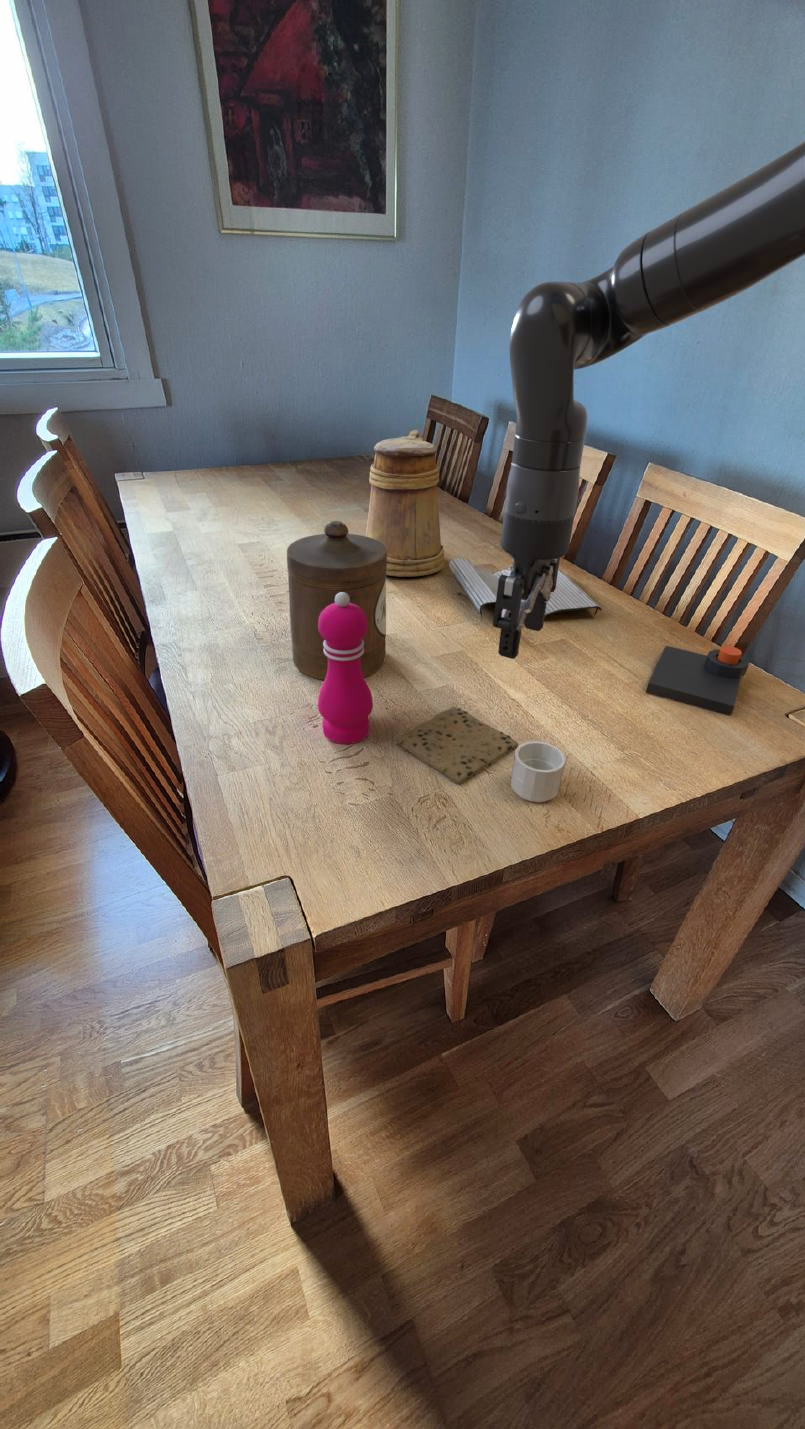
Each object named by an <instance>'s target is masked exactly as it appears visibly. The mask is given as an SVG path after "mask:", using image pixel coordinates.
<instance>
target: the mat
mask: <svg viewBox="0 0 805 1429" xmlns="http://www.w3.org/2000/svg"><path fill="white" fill-rule="evenodd" d="M448 566H449V569H450V572H451V573H452V576H453V577H454V579H455V580H456V582H457V583H458V585H459V586H460V587H461V589H462V590H463V591H464V593H465V594H466V596H467V597H468V599H469V600H470V602H471V603H472V605H473V606H474V607H475V609H476V611H477V612H478V613H479V615H480V618H481V620H483V613H482V609H483V607H484V606H485V605H491V604H492V605H493V604H496V597H497V589H498V580H499V578H500V576H501V575H507V576H508V573H509V570H510V568H511V567H509V568H506V569H505V568H504V569H503V570H499V571H496V572H490V571H487V570H485V569H483V568H480V567H478V566H476V565H474V564H473V563H472V562H471V560H470V559H468V558H467V557H465V556H464V557H461V556H460V557H454V558H452V559H451V560H450V561H449V563H448ZM550 593H551V597H550V599H549V601H548V602H546V601H545V603H547V604H546V611H545V617H548V616H551V615H553V614H555V613H559V612H575V611H580V610H587V609H595V611H594V614H593V616H596V614H598V610H599V611H602V610H603V609H602V606H601V605H599V604H598V603H597V601H595V600H594V599H592V597H590V596H589V594H587V593H586V592H585V591H584V590H583V589H582V588H581V587H579V586H578V584H576V582H574V581H573V580H572V579H571V578H570V577H569V576H567V575H566V574H565V573H564V572H563V571H562V570H561V569H560V568H558V575H557V582H556V589H555V591H554V592H550ZM521 602H526V600H522V599H521ZM509 614H512V613H511V611H510V612H509ZM525 618H526V616H525ZM481 623H482V624H483V623H484V622H483V621H481Z"/></svg>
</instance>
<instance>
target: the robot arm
mask: <svg viewBox="0 0 805 1429" xmlns="http://www.w3.org/2000/svg"><path fill="white" fill-rule="evenodd" d="M802 257H805V141H803V142H802V143H800V144H798V145H797V146H795V147H793V148H792V149H790V150H789V151H787V152H785V153H783V154H782V155H781V156H779V157H777V158H775V159H774V160H772V161H770V162H768V163H766V164H765V165H763V166H762V167H760V168H759V169H757V170H755V171H753V172H751V173H749V174H747V175H746V176H745V177H742V178H741V179H740V180H738V181H736V182H734V183H733V184H730V185H729V186H727V187H725V188H724V189H722V190H720V191H719V192H717V193H715V194H712V195H711V196H709V197H708V198H706V199H704V200H703V201H701V202H699V203H697V204H695V205H694V206H691V207H689V208H688V209H686V210H685V211H683V212H681V213H680V214H678V215H676V216H674V217H673V218H670V219H669V220H667V221H665V222H664V223H662V224H660V225H659V226H657V227H654V228H653V229H651V230H650V231H648V232H646V233H644V234H642V235H641V236H640V237H638V238H636V239H634V241H632V242H630V243H629V245H627V246H626V247H625V248H624V249H623V250H622V251H621V252H620V253H619V254H618V257H617V258H616V260H615V261H614V264H613V266H611V267H610V268H608V269H606V270H605V271H603V272H602V273H600V274H598V275H597V276H594V277H592V278H590V279H587V280H585V281H582V282H574V281H573V282H571V281H547V282H546V281H545V282H543V283H542V282H541V283H540V284H537V285H536V286H534V287H533V288H531V289H530V290H529V291H528V292H527V293H526V294H525V296H524V297H523V298H522V299H521V301H520V303H519V305H518V307H517V310H516V312H515V314H514V318H513V321H512V324H511V329H510V335H509V364H510V374H511V375H510V376H511V383H512V384H511V385H512V394H513V403H514V407H515V414H516V422H515V431H514V439H513V448H512V455H511V456H512V457H511V465H510V470H509V474H508V477H507V482H506V488H505V489H506V490H505V499H504V508H503V517H502V527H501V535H500V536H501V538H500V547H501V549H502V550H503V552H504V553H506V554H508V555H509V556H511V557H512V558H513V562H512V566H511V567H509V568H510V570H509V573H508V576H507V575H501V576H500V578H499V580H498V589H497V597H496V603H495V605H494V613H493V620H492V627H493V628H496V629H500V633H499V635H500V636H499V644H498V655H499V656H501V657H504V658H507V659H511V660H514V659H516V658H517V657H518V655H519V652H520V651H519V650H520V644H521V643H520V642H521V637H522V635H521V634H522V629H523V626H524V627H525V629H527V630H530V631H534V632H535V631H536V632H540V631H542V629H543V627H544V623H545V617H546V616H545V611H546V604H547V603H545V601H546V602H548V601H549V599H550V597H551V593H550V592H554V591H555V589H556V582H557V575H558V569H560V560H561V558H562V557H564V556H565V555H567V554H568V552H569V550H570V544H571V538H572V532H573V528H574V527H573V526H574V521H575V516H576V508H577V502H578V497H579V490H580V473H581V465H582V459H583V452H584V446H585V441H586V436H587V435H586V433H587V426H588V412H587V408H586V407H585V405H583V404H582V403H581V402H579V401H578V400H575V396H574V391H575V390H574V386H575V385H574V375H575V374H574V373H575V370H580V369H585V368H587V367H590V366H593V365H596V364H598V363H600V362H603V361H604V360H607V359H609V358H610V357H612V356H614V355H617V354H618V353H619V352H621V351H623V350H625V349H627V348H628V347H630V346H632V345H633V344H635V343H636V342H638V341H640V340H641V339H643V338H645V337H646V336H647V335H648V334H651V333H654V332H657V331H659V330H663V329H665V328H668V327H670V326H671V325H675V324H677V323H680V322H682V321H684V320H687V319H688V318H690V317H692V316H693V317H694V316H695V315H697V314H699V313H702V312H704V311H706V310H709V309H710V308H712V307H715V306H717V305H719V304H721V303H723V302H725V301H727V300H729V299H731V298H733V297H735V296H737V295H739V294H741V293H743V292H745V291H747V290H748V289H750V288H752V287H753V286H755V285H757V284H759V283H760V282H762V281H764V280H766V279H767V278H769V277H770V276H772V275H773V274H775V273H777V272H779V271H780V270H782V269H784V268H786V266H788V265H791V264H792V263H794V262H796V261H797V260H799V259H800V258H802ZM521 599H522V600H526V602H521ZM510 611H511V613H510ZM509 614H511V615H510V617H509ZM525 616H526V618H525Z"/></svg>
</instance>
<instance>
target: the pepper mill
mask: <svg viewBox="0 0 805 1429" xmlns="http://www.w3.org/2000/svg"><path fill="white" fill-rule="evenodd" d="M349 602H350V598H349V596H348V594H347V593H345V592H340V593H338V594H337V595H336V596H335V603H333V604H331V605H328V606H327V607H326V608H325V609H324V610H323V611H322V612H321V614H320V616H319V621H318V629H319V632H320V635H321V636H322V638H323V639H324V642H323V646H324V654H325V655H326V656H327V657H328V670H327V674H326V678H325V680H323V682H322V685H321V687H320V690H319V694H318V698H317V708H318V713H319V714H320V716H321V717H322V718H323V719H322V732H323V735H324V737H325V738H327V739H328V740H329V741H331V742H333V743H336V744H340V745H348V744H356V743H357V742H360V741H362V740H364V739H365V738H366V737H368V735H369V733H370V717H369V716H370V715H371V713H372V712H373V709H374V702H373V700H374V699H373V694H372V691H371V688H370V687H369V685H368V683H367V681H366V679H365V677H363V674H362V671H361V663H360V658H361V655H362V654H363V652H364V647H363V646H364V641H363V640H362V639H363V638H364V637H365V635H366V633H367V629H368V622H367V617H366V615H365V613H364V611H363V610H362V609H361V608H360V607H358V606H357V605H355V604H352V603H349Z"/></svg>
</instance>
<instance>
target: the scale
mask: <svg viewBox="0 0 805 1429" xmlns="http://www.w3.org/2000/svg"><path fill="white" fill-rule="evenodd" d="M720 649H721V648H720ZM720 649H719V648H716V649H715V648H714V649H713V650H710V651H708V653H707V654H702V653H698V652H694V651H691V650H687V649H683V648H679V647H674V646H670V645H665V646H664V648H663V650H662V652H661V655H660V656H659V659H658V661H657V663H656V665H655V667H654V670H653V672H652V674H651V676H650V678H649V680H648V683H647V685H646V689H645V693H647V694H650V695H654V696H657V697H662V698H665V699H669V700H672V701H676V702H680V703H682V704H683V703H684V704H686V705H690V706H694V707H697V708H702V709H706V710H709V711H712V712H716V713H720V714H723V715H727V716H732V713H733V710H734V708H735V704H736V700H737V697H738V691H739V688H740V683H741V679H742V677H744V676H746V673H747V671H748V669H749V665H750V660H749V659H748V658H747V657H746V656H745V655H743V654H741V657H740V659H739V662H738V664H728V663H724V662H722V661H720V660H718V655H719V652H720Z"/></svg>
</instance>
